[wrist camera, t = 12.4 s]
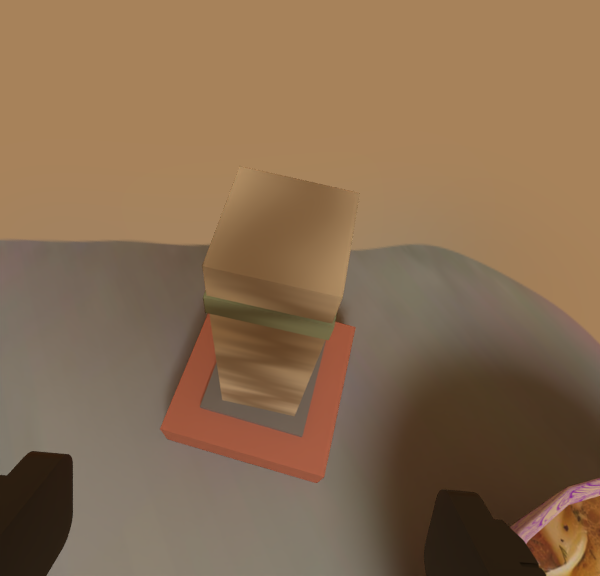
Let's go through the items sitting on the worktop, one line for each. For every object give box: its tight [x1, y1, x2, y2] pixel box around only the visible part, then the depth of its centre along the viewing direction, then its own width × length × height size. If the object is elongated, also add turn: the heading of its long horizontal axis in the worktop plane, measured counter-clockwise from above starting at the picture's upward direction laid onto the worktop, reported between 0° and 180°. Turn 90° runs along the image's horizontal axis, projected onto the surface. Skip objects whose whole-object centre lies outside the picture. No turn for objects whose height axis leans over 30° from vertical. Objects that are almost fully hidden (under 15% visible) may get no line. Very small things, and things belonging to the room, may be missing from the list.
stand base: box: [160, 313, 355, 483], centre depth 29 cm, size 10×10×3 cm
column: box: [202, 166, 360, 416], centre depth 21 cm, size 5×5×15 cm
